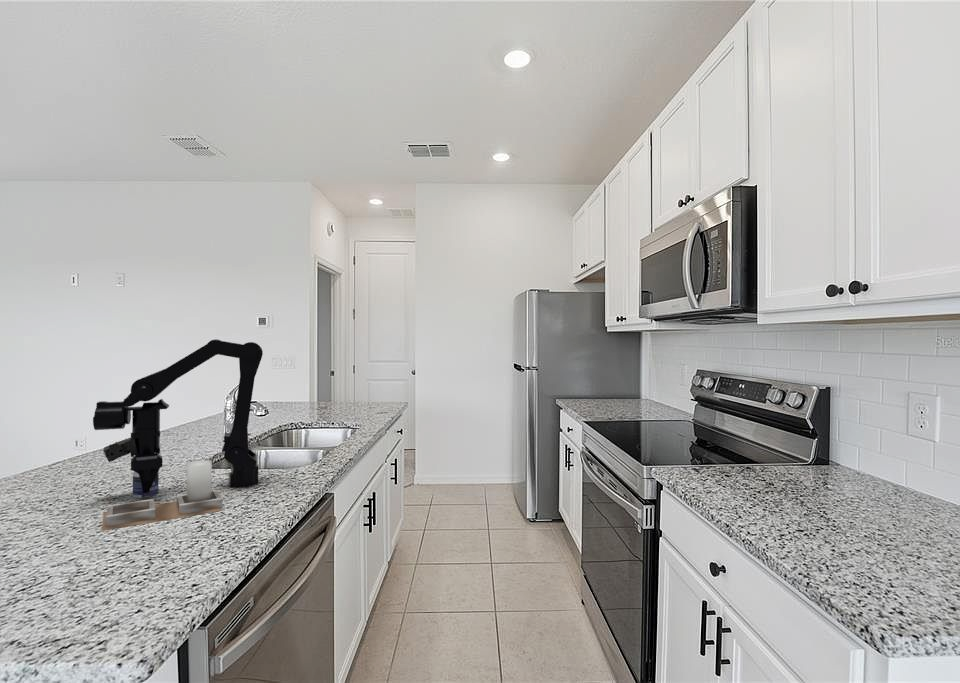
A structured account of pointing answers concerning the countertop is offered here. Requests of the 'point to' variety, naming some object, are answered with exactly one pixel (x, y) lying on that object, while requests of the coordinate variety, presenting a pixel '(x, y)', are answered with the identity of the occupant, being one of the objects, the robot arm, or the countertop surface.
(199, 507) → the board
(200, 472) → the pin
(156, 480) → the pill bottle
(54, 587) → the countertop surface
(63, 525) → the countertop surface
